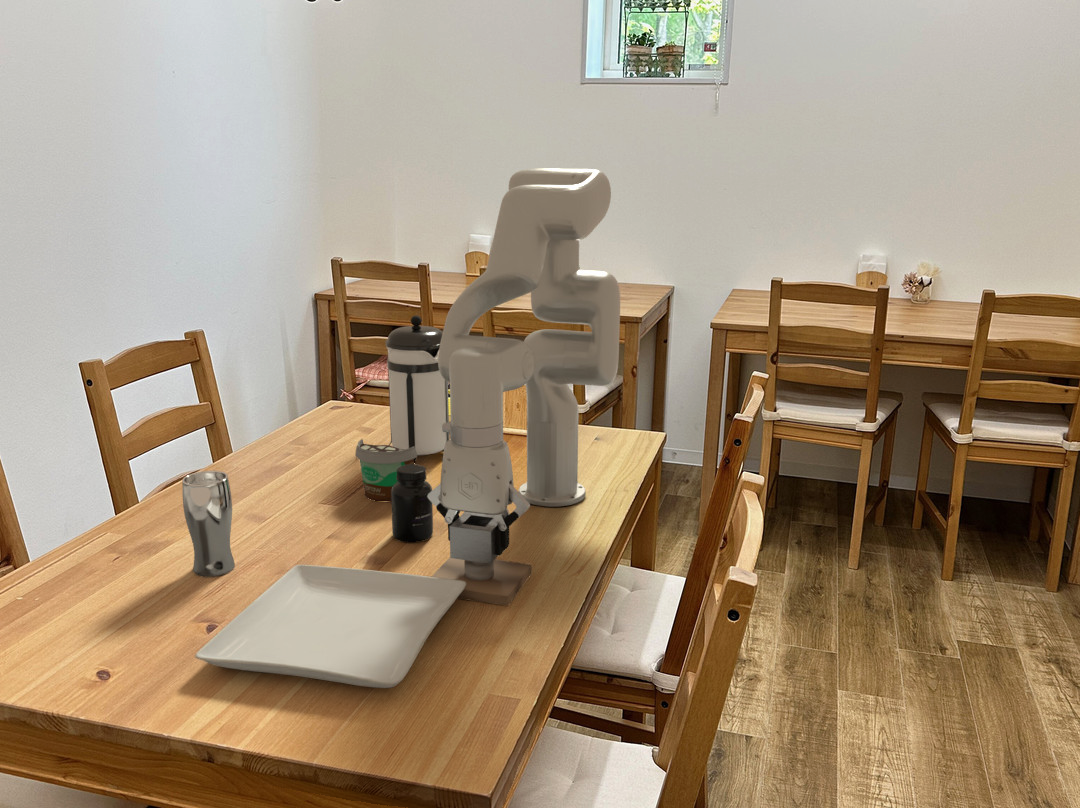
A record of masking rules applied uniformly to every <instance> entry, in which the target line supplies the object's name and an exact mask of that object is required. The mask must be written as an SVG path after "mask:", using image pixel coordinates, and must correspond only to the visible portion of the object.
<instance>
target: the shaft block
mask: <svg viewBox="0 0 1080 808" xmlns="http://www.w3.org/2000/svg"><path fill="white" fill-rule="evenodd" d="M532 565H533V564H532V563H526V562H525V563H524V562H517V561H510V560H504V559H503V560H502V559H497V558H496V559H495V560H494V561H493V562H492V564H489V563H482V562H475V561H468V560H461V559H454V558H450V556H449V557H448V558H447V560H445V562H444V563H443V564H442V565H441V566H440V567H438V569H437V570H436V571H435V572H434V573H433V574H432V575H431V576H430V577H436V578H444V579H453V580H462V581H465V582H466V586H465V588H464V590H463V591H462V592H461V594H460V595H459V596H458V597H457V599H459V598H460V599H461V600H466V599H467V601H472V600H473V601H474V602H479V603H484V604H485V603H486V604H492V605H499V606H506V607H509V606H510V604H511V603H512V601H513V600H514V598H515V597H516V596H517V595H518V593H519V592H520V590H521V589H522V588H523V586H524V585H525V584H526V582H527V581H528V579H529V578H530V577H529V576H532V574H533V573H532V572H533V566H532Z"/></svg>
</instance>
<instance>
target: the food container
mask: <svg viewBox="0 0 1080 808" xmlns="http://www.w3.org/2000/svg"><path fill="white" fill-rule="evenodd" d="M354 455H355V457H356V458H357V459H358V460H359V466H360V472H361V477H362V484H363V492H364V497H365V496H366V497H367V498H366V497H365V498H366V499H368V498H369V499H371V500H370V501H372V500H375V501H374V502H377V501H391V489H392V487H393V485H394V484H395V483H397V482H398V481H397V479H396V476H397V468H398V467H400V466H403V465H409V464H414V458H416V457H417V458H418V456H417V453H416V450H415V447H414V446H413V447H411V448H409V449H405V450H404V449H399V448H396V447H393V446H392V445H390V446H389V444H388V445H386V444H382V445H381V444H380V445H379V444H378V445H373V444H369V443H368V444H367V443H364V440H363V438H362V439H360V440H359V441H358V442H357V444H356V447H355V453H354ZM417 458H416V459H417ZM369 499H368V500H369Z"/></svg>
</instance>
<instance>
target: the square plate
mask: <svg viewBox="0 0 1080 808" xmlns="http://www.w3.org/2000/svg"><path fill="white" fill-rule="evenodd" d="M465 586H466V582H465V581H462V580H453V579H444V578H436V577H431V576H427V575H419V574H411V573H402V572H393V571H392V572H391V571H381V570H372V569H362V568H352V567H348V568H347V567H341V566H340V567H337V566H328V565H327V566H325V565H315V564H314V565H313V564H311V565H310V564H296V565H294V566H293V567H292V568H290V569H289V570H288V571H287V572H286V573H285V574H283V575H282V576H281V577H280V578H278V580H276V581H275V582H274V583H273V584H271V585H270V586H269V587H268V588H267V589H266V590H265V591H264V592H262V593H261V594H260V595H259V596H258V597H256V599H254V600H253V601H252V602H251V603H250V604H249V605H248V606H247V607H245V608H244V609H243V610H242V611H241V612H240V613H239V614H238V615H236V616H235V617H234V618H233V619H232V620H230V622H229V623H227V624H226V625H225V626H224V627H222V629H221V630H220V631H219V632H217V633H216V634H215V635H214V636H213V637H212V638H210V640H209V641H207V642H206V643H205V644H204V645H203V646H202V647H201V648H199V650H198V651H197V652H196V653H195V656H194V657H195V659H197V660H200V661H202V662H205V663H207V664H210V665H213V666H216V667H221V668H226V669H233V670H241V671H249V672H257V673H259V672H260V673H266V674H277V675H284V676H285V675H286V676H294V677H302V678H309V679H316V680H322V681H328V682H329V681H330V682H336V683H339V684H340V683H341V684H345V685H346V684H348V685H353V686H360V687H368V688H378V689H391V688H394V687H396V686H397V685H398V684H399V683H401V682H402V681H403V679H404V678H405V677H406V676H407V674H408V672H409V671H410V669H411V667H412V666H413V664H414V662H415V661H416V658H417V657H418V655H419V653H420V651H421V650H422V648H423V646H424V644H425V643H426V641H427V639H428V637H430V635H431V633H432V631H433V630H434V629H435V627H436V626H437V624H438V623H439V622H440V620H441V619H442V618H443V617H444V616H445V614H447V612H448V611H449V609H450V608H451V607H452V605H454V603H455V601H456V600H457V599H458V598H457V597H458V596H459V595H460V594H461V592H462V591H463V590H464V588H465Z"/></svg>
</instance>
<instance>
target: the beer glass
mask: <svg viewBox="0 0 1080 808" xmlns="http://www.w3.org/2000/svg"><path fill="white" fill-rule="evenodd" d="M181 482H182V506H183V513H184V518H185V523H186V526H187V528H188V532H189V535H190V538H191V542H192V546H193V552H194V553H193V554H194V555H193V556H194V557H193V570H192V571H193V573H194V574H195V575H196V576H198V577H201V576H202V577H203V578H215V577H221V576H223V575H226V574H228V573H229V572H232V570H234V569H235V565H236V564H235V560H234V557H233V553H232V549H231V531H232V520H233V499H232V492H231V491H232V490H231V486H230V481H229V475H228V473H227V472H225V471H222V470H202V471H198V472H197V471H196V472H194V473H189V474H188V475H186V476H184V477H183V478H182V480H181Z"/></svg>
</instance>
